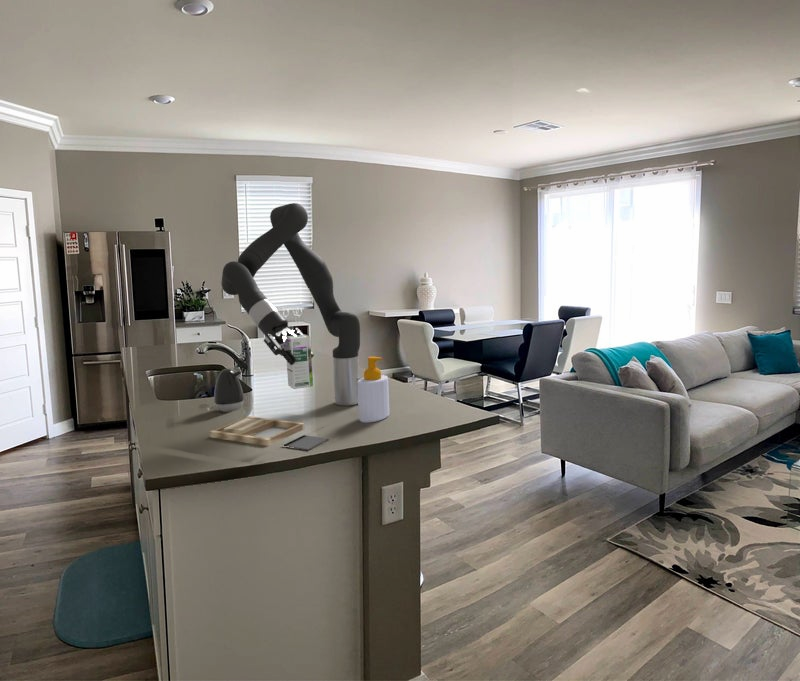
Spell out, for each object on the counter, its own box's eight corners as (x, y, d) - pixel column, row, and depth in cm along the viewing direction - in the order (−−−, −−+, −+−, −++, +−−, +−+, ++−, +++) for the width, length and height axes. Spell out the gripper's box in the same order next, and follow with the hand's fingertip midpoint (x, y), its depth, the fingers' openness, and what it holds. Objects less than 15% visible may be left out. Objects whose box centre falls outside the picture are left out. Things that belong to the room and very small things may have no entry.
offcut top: (224, 434, 173) (223, 428, 173) (247, 424, 183) (246, 418, 183) (241, 436, 171) (241, 430, 170) (263, 426, 181) (263, 419, 180)
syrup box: (293, 389, 161) (290, 338, 158) (287, 385, 166) (284, 335, 164) (313, 386, 163) (310, 336, 161) (306, 383, 168) (304, 333, 166)
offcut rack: (210, 441, 172) (209, 431, 172) (249, 425, 187) (249, 416, 187) (268, 450, 162) (268, 439, 162) (305, 432, 177) (304, 423, 177)
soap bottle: (373, 424, 183) (370, 361, 180) (352, 421, 187) (349, 359, 184) (395, 414, 194) (393, 354, 191) (375, 411, 198) (372, 353, 196)
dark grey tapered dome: (236, 414, 201) (233, 371, 198) (209, 414, 203) (205, 371, 200) (250, 407, 210) (247, 366, 208) (224, 406, 213) (220, 365, 210)
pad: (279, 446, 165) (279, 444, 165) (300, 436, 174) (300, 434, 173) (308, 450, 160) (308, 449, 160) (328, 440, 169) (328, 438, 169)
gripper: (258, 312, 158) (294, 355, 155) (290, 307, 171) (324, 347, 167) (244, 330, 161) (280, 374, 158) (277, 324, 174) (310, 364, 171)
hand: (303, 360), depth 163 cm, fingers closed on syrup box, 7 cm apart
